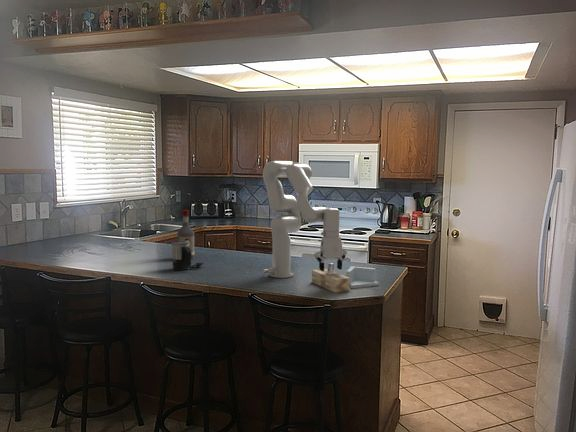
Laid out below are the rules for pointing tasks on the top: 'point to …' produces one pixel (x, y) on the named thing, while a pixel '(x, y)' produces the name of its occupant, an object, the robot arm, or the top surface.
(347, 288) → the beam
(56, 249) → the top surface
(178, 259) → the milk frother
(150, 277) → the top surface
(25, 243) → the top surface
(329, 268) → the axle
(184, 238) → the liquor
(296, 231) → the robot arm
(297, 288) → the top surface
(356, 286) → the grey angled piece
